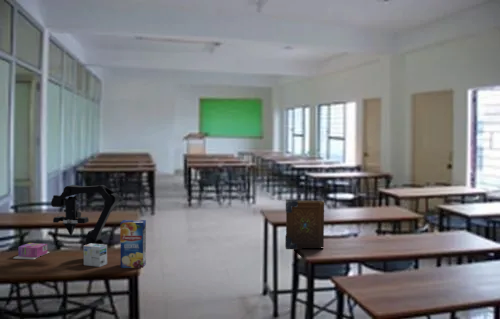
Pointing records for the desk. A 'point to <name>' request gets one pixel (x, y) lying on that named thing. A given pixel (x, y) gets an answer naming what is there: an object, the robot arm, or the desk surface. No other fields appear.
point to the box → (32, 250)
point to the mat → (26, 257)
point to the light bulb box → (95, 255)
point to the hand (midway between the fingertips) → (71, 234)
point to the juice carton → (133, 243)
